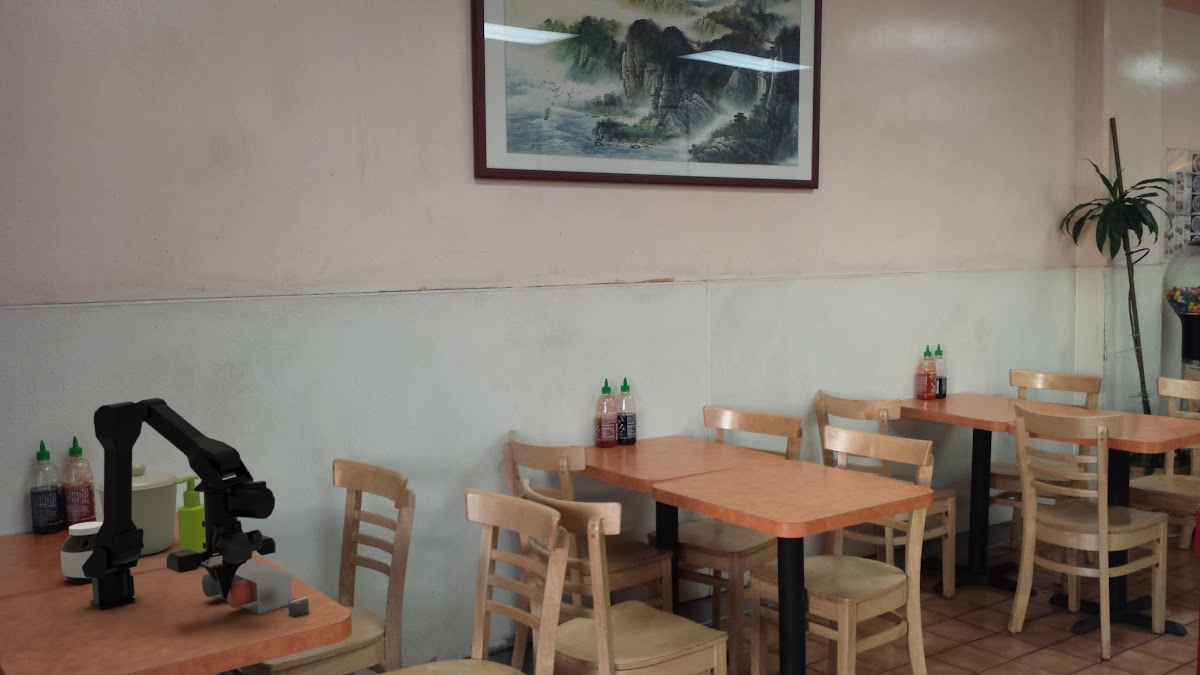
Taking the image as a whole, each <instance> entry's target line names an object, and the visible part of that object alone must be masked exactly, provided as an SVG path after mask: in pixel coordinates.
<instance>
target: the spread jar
mask: <svg viewBox="0 0 1200 675" xmlns="http://www.w3.org/2000/svg"><path fill="white" fill-rule="evenodd" d="M102 524H103V521H87V522H86V521H84V522H80V523H76V524H72V525H70V526H69V527H68V534H69V536H68V537H67V538H66V539H65V540H64V542H63V543H62V545H61V548H60V563H61V564H60V565H61V571H62V574H63V576H64V577H65V578H66V579H67V580H69V581H70V582H72V583H73V582H74V583H73V584H87V583H86V582H91V583H92V578H91V577H85V576H84V573H83V569H82V566H83V564H84V563H85V562H86V561H87V559H88V558H89V557H90V555H91V554H92V553H93V547H94V540H95V536H96V534H97V532H98V531H99V529H100V527H101V525H102Z"/></svg>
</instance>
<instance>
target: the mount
mask: <svg viewBox="0 0 1200 675" xmlns="http://www.w3.org/2000/svg"><path fill="white" fill-rule="evenodd" d="M291 578H292V573H290V572H286V571H283V570H281V569H278V568H275V567H272V566H269V565H267V564H264V563H261V562H257V561H256V560H253V559H249V560H247V562H246V563H244V564H242V565H241V566H240V567H239V568H238V569H237V571H236V573H235V576H234V578H233V581H232V583H236V582H240V581H244V580H246V581H248V583H249V584H250V586H251V590H252V600H251V602H250V603H248V604H245V605H241V606H239V607H240V608H243V609H246V610H247V611H250V612H252V613H255V614H257V615H261V614H264V613H267V611H268V612H271V611H274V610H273V609H275V610H277V609H276V608H278V609H281V608H280V607H282V608H284V607H283V606H285V607H287V606H286V605H288V602H289V601H290V600H293V592H292V584H291ZM215 597H217V598H219V599H222V598H221V596H220V595H216V596H215ZM222 600H224V601H226V602H228V601H227V598H226V599H222ZM270 610H271V611H270Z"/></svg>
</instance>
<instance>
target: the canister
mask: <svg viewBox="0 0 1200 675" xmlns="http://www.w3.org/2000/svg"><path fill="white" fill-rule="evenodd" d="M146 468H147V467H146V465H145V464H144V463H142V462H134V463H132V521H133V522H134V524H135V525H136V527H137V528H142V529H143V531H144V534H143V544H144V548H142V551H141V555H140V556H141V557H143V556H148V555H152V554H157V553H160V552H163V551H165V550H167V549H168V548H169V547H170V546H171V545H172V542H173V540H174V535H175V524H176V511H177V494H178V484H176V483H174V481H176V480H178V479H180V478H181V477H178V476H176V475H174V474H173V473H171V472H167V471H146ZM95 490H96V491H97V492H98V494H99V495H98V496H99V500H100V507H101V510H102V511H101V512H102V515H103V516H102V517H103V518H104V480H102V481H101V482H100V483H99V484H97V485H96V486H95ZM140 556H139V557H140Z"/></svg>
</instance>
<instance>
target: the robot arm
mask: <svg viewBox="0 0 1200 675" xmlns="http://www.w3.org/2000/svg"><path fill="white" fill-rule="evenodd" d="M143 423H146V424H147V425H149V427H150V428H152V429H153V430H155V432H157V433H158V434H159V435H161V436H162V438H164V439H165V440H167V441H168V442H169V443H170V444H171V445H172V446H174V447H175V448H176V449H177V450H179V451H180V452H181V453H183V454H184V456H185V457H186V458H187V460H188V465H189V468H190V469H192V471H193V472H194V473H195V474H196V476H198V479H200V482H199V483H197V485H195V488H194V491H195V492H200V493H203V505H204V514H205V521H202V527H205V539H206V542H205V543H203V548H204V549H206V551H203V552H195V551H192V550H189V549H186V550H181V551H180V550H177V551H171V552H169V554H168V556H167V557H166V560H165V561H166V568H167V569H168V570H171V571H173V572H176V573H178V574H181V573H182V574H183V573H187V572H192V571H193V572H194V571H197V570H198V569H200V568H199V567H202V568H203V569H205V570H206V571H207V574H210V576H211V578H212V580H213V581H214V583H215V585H216V588H217V590H218V592H219V594H220V596H221V598H222V600H224V599H226V598H227V596H228V593H229V590H230V587H231V584H232V581H233V578H234V576H235V573H236V571H237V569H238V568H239V567H240V566H241V565H242V564H244V563H246V562H247V560H249V559H250V560H252V558H253V553H254V552H256V553H257V554H259V555H260V556H265V555H271V554H275V553H276V552H277V544H276V541H275V539H274V538H273V537H271V536H267V535H264V534H263V532H262V531H261V530H260V529H254V530H249V531H245V532H244V530H243V528H242V525H243V524H242V523H241V522H242V521H241V520H240V519H239V518H244V519H256V520H266V519H267V518H269V517H270V516H271V515H272V513H273V512H274V510H275V505H276V496H274V493H273V491H272V490H271V488H269V487H267V481H266V480H258V481H255V479H254V477H253V476H252V474H251V473H250V471H249V469H248V468H247V466H246V465H245V463H244V462H243V460H242V458H241V454H240V452H239V451H238V450H237V449H236V448H235V447H233V446H231V445H230V444H227V443H226V442H223V441H222V440H219V439H214V438H210V437H208V436H207V435H205V434H204V433H203V432H201V431H200V430H199V429H198V428H196V427H195V426H194V425H192V424H191V423H190V422H188V420H186V419H185V418H184V417H183V416H181V415H180V414H179V413H177V412H176V411H175V410H174V409H173V408H171V407H170V406H169V405H168V403H167V402H166V400H165V399H163V398H160V397H153V398H146V399H141V400H138V401H137V402H133V401H121V402H116V403H109V404H104V405H101V406H99V407H97V409H96V410H95V411H94V413H93V425H94V427H93V428H94V436H95V438H96V439H97V440H98V443H100V445H101V447H102V449H103V481H104V517H103V521H102V522H103V524H102V525H101V527H100V529H99V531H98V532H97V534H96V536H95V540H94V547H93V553H92V554H91V555H90V557H89V558H88V559H87V561H86V562H85V563H84V564H83V566H82V569H83V573H84V576H85V577H91V578H92V582H91V583H92V585H91V586H92V598H93V599H92V600H91V599H90V600H89V604H91V605H93V606H95V607H97V608H99V609H101V610H105V609H110V608H113V607H117V606H121V605H126V604H130V603H134V602H136V600H137V599H136V598H135V580H134V579H135V578H134V575H131V569H133V568H136V567H137V566H138V563H139V558H140V555H141V551H142V548H144V544H143V534H144V531H143V529H142V528H137V527H136V525H135V524H134V522H133V521H132V464H133V449H134V446H135V445H136V443H137V441H138V439H139V438H140V436H141V434H142V427H143ZM221 598H220V599H221Z"/></svg>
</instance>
